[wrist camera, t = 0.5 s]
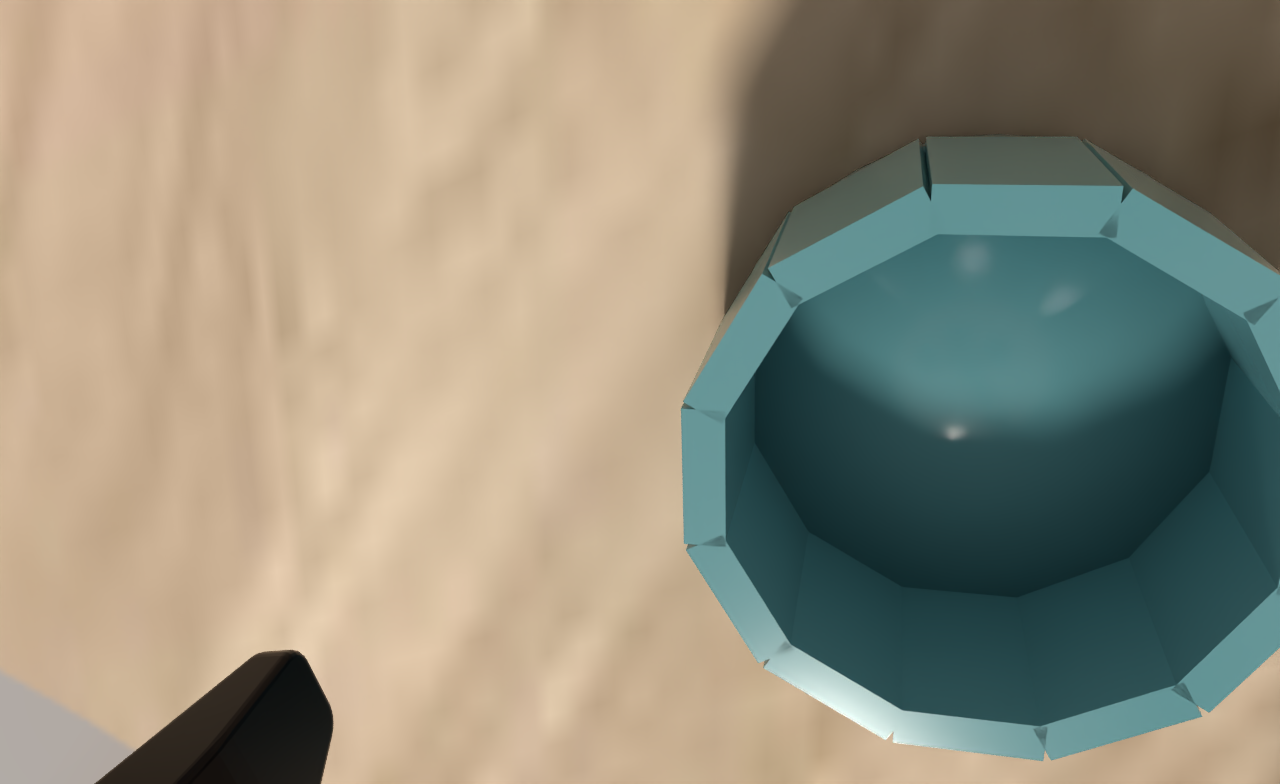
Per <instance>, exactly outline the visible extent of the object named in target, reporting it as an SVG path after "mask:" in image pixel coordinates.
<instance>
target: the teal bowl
mask: <svg viewBox="0 0 1280 784" xmlns="http://www.w3.org/2000/svg"><path fill="white" fill-rule="evenodd" d="M683 402H684V404H683V406H682V408H681V426H682V473H683V519H684V544H688V546H687V549H686V551H687V552H688V554H689V555H690V557H691V559H692V560H693V562H694V563H695V565H696V566H697V568H698V570H699V571H700V573H701V574H702V576H703V577H704V579H705V581H706V582H707V584H708V585H709V587H710V588H711V590H712V592H713V593H714V595H715V596H716V598H717V599H718V601H719V602H720V604H721V606H722V607H723V609H724V610H725V612H726V613H727V615H728V617H729V618H730V620H731V621H732V623H733V624H734V626H735V628H736V629H737V631H738V632H739V634H740V635H741V637H742V638H743V640H744V642H745V643H746V645H747V646H748V648H749V649H750V651H751V653H752V654H753V656H754V657H755V659H756V660H757V662H758V663H760V662H763V661H765V662H764V667H763V668H764V669H766V670H768V671H769V672H771V673H773V674H774V675H776V676H778V677H780V678H781V679H783V680H785V681H786V682H788V683H790V684H791V685H793V686H795V687H796V688H798V689H800V690H802V691H803V692H805V693H807V694H808V695H810V696H812V697H813V698H815V699H817V700H818V701H820V702H822V703H824V704H825V705H827V706H829V707H830V708H832V709H834V710H835V711H837V712H839V713H840V714H842V715H844V716H846V717H847V718H849V719H851V720H852V721H854V722H856V723H857V724H859V725H861V726H863V727H864V728H866V729H868V730H869V731H871V732H873V733H874V734H876V735H878V736H879V737H881V738H883V739H885V740H886V739H887V738H888V737H889V736H890V735H891V734H892V732H893V743H901V744H909V745H917V746H925V747H933V748H941V749H949V750H957V751H966V752H974V753H982V754H990V755H998V756H1006V757H1014V758H1023V759H1031V760H1039V761H1043V759H1044V752H1045V751H1046V753H1047V754H1048V756H1049V758H1050V759H1051V760H1054V759H1058V758H1061V757H1065V756H1068V755H1072V754H1075V753H1078V752H1082V751H1085V750H1089V749H1092V748H1096V747H1099V746H1102V745H1106V744H1109V743H1113V742H1116V741H1120V740H1123V739H1127V738H1130V737H1133V736H1137V735H1140V734H1144V733H1147V732H1151V731H1154V730H1157V729H1161V728H1164V727H1168V726H1171V725H1175V724H1178V723H1182V722H1185V721H1188V720H1192V719H1195V718H1199V717H1202V715H1201V712H1200V710H1199V707H1201V708H1202V709H1204V710H1206V711H1207V712H1210V711H1212V710H1213V709H1214V708H1215V707H1216V706H1217V705H1218V704H1219V703H1220V702H1221V701H1222V700H1223V699H1225V698H1226V697H1227V696H1228V695H1229V694H1230V693H1231V692H1232V691H1233V690H1234V689H1235V688H1236V687H1238V686H1239V685H1240V684H1241V683H1242V682H1243V681H1244V680H1245V679H1246V678H1247V677H1248V676H1249V675H1251V674H1252V673H1253V672H1254V671H1255V670H1256V669H1257V668H1258V667H1259V666H1260V665H1261V664H1262V663H1263V662H1265V661H1266V660H1267V659H1268V658H1269V657H1270V656H1271V655H1272V654H1273V653H1274V652H1275V651H1276V650H1278V649H1279V648H1280V272H1279V271H1278V270H1277V269H1276V268H1274V267H1273V266H1272V265H1271V264H1270V263H1269V262H1267V261H1266V260H1265V259H1264V258H1263V257H1262V256H1260V255H1259V254H1258V253H1257V252H1256V251H1255V250H1253V249H1252V248H1251V247H1250V246H1249V245H1247V244H1246V243H1245V242H1244V241H1243V240H1242V239H1240V238H1239V237H1238V236H1237V235H1236V234H1235V233H1233V232H1232V231H1231V230H1230V229H1229V228H1227V227H1226V226H1225V225H1224V224H1223V223H1222V222H1220V221H1219V220H1218V219H1217V218H1216V217H1215V216H1213V215H1212V214H1211V213H1210V212H1208V211H1206V210H1205V209H1203V208H1201V207H1199V206H1198V205H1196V204H1194V203H1193V202H1191V201H1189V200H1188V199H1186V198H1184V197H1183V196H1181V195H1179V194H1177V193H1176V192H1174V191H1172V190H1171V189H1169V188H1167V187H1166V186H1164V185H1162V184H1161V183H1159V182H1157V181H1155V180H1154V179H1152V178H1151V177H1150V176H1148V175H1147V174H1145V173H1144V172H1142V171H1140V170H1138V169H1136V168H1134V167H1132V166H1130V165H1128V164H1127V163H1125V162H1123V161H1122V160H1120V159H1118V158H1117V157H1115V156H1113V155H1111V154H1110V153H1108V152H1106V151H1105V150H1103V149H1101V148H1100V147H1098V146H1096V145H1095V144H1093V143H1091V142H1089V141H1088V140H1086V139H1084V140H1083V141H1081V140H1080V139H1079V138H1078V137H1036V136H1021V135H1005V134H993V135H977V136H961V137H926V142H925V143H924V144H921V142H920V140H919V138H918V139H917V140H915V141H913V142H911V143H909V144H907V145H906V146H904V147H902V148H900V149H898V150H896V151H895V152H893V153H891V154H889V155H887V156H885V157H883V158H881V159H879V160H877V161H875V162H873V163H870V164H868V165H866V166H864V167H862V168H860V169H858V170H855V171H854V172H852V173H851V174H849V175H847V176H846V177H844V178H843V179H841V180H840V181H838V182H836V183H835V184H833V185H832V186H830V187H829V188H827V189H825V190H823V191H822V192H820V193H818V194H816V195H814V196H812V197H811V198H809V199H807V200H805V201H803V202H801V203H800V204H798V205H796V206H794V207H793V210H792V212H788V213H787V215H786V217H785V218H784V220H783V222H782V223H781V225H780V227H779V228H778V230H777V231H776V233H775V235H774V236H773V238H772V240H771V241H770V243H769V245H768V246H767V248H766V249H765V251H764V253H763V254H762V256H761V258H760V259H759V260H758V262H757V263H756V265H755V267H754V269H753V271H752V272H751V274H750V276H749V277H748V279H747V281H746V282H745V284H744V285H743V287H742V289H741V290H740V292H739V294H738V295H737V297H736V299H735V300H734V302H733V303H732V305H731V307H730V308H729V310H728V312H727V313H726V315H725V317H724V318H723V320H722V322H721V324H720V326H719V328H718V330H717V332H716V334H715V336H714V339H713V341H712V343H711V345H710V347H709V349H708V351H707V353H706V355H705V357H704V359H703V361H702V363H701V365H700V368H699V370H698V372H697V374H696V376H695V378H694V380H693V382H692V384H691V386H690V388H689V390H688V392H687V395H686V397H685V399H684V401H683ZM1198 706H1199V707H1198Z"/></svg>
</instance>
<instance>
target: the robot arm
mask: <svg viewBox="0 0 1280 784" xmlns="http://www.w3.org/2000/svg"><path fill="white" fill-rule="evenodd" d="M332 733H333V714H332V710H331V706H330V704H329V702H328V700H327V698H326V696H325V694H324V692H323V690H322V688H321V686H320V684H319V682H318V680H317V678H316V677H315V675H314V673H313V671H312V669H311V667H310V665H309V663H308V661H307V659H306V658H305V656H304V655H302V654H301V653H300V652H298V651H295V650H282V651H268V652H262V653H258V654H256V655H254V656H253V657H251V658H250V659H249V660H248V661H246V662H245V663H244V664H243V665H241V666H240V667H239V668H238V669H236V670H235V671H234V672H233V673H231V674H230V675H229V676H228V677H226V678H225V679H224V680H223V681H221V682H220V683H219V684H218V685H216V686H215V687H214V688H213V689H212V690H210V691H209V692H208V693H207V694H205V695H204V696H203V697H202V698H200V699H199V700H198V701H197V702H195V703H194V704H193V705H192V706H190V707H189V708H188V709H187V710H185V711H184V712H183V713H182V714H181V715H179V716H178V717H177V718H176V719H174V720H173V721H172V722H171V723H169V724H168V725H167V726H166V727H164V728H163V729H162V730H161V731H159V732H158V733H157V734H156V735H154V736H153V737H152V738H151V739H149V740H148V741H147V742H146V743H144V744H143V745H142V746H141V747H140V748H138V749H137V750H136V751H135V752H133V753H132V754H131V755H130V756H128V757H127V758H126V759H125V760H123V761H122V762H121V763H120V764H118V765H117V766H116V767H115V768H114V769H112V770H111V771H110V772H108V773H107V774H106V775H105V776H104V777H102V778H101V779H100V780H99V781H98V782H96V783H95V784H321V781H322V777H323V773H324V768H325V764H326V760H327V755H328V751H329V747H330V742H331V738H332Z"/></svg>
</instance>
